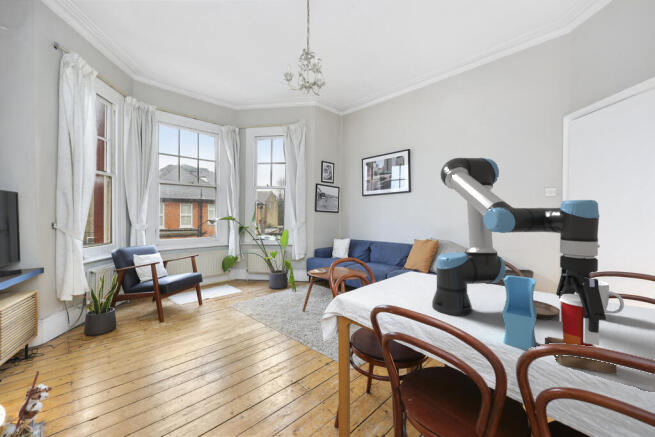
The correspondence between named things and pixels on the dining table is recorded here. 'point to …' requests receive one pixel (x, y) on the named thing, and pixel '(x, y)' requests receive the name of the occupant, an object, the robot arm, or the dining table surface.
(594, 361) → the base
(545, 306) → the plant saucer
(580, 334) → the paper cup
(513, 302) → the vase
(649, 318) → the dining table surface
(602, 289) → the mug
